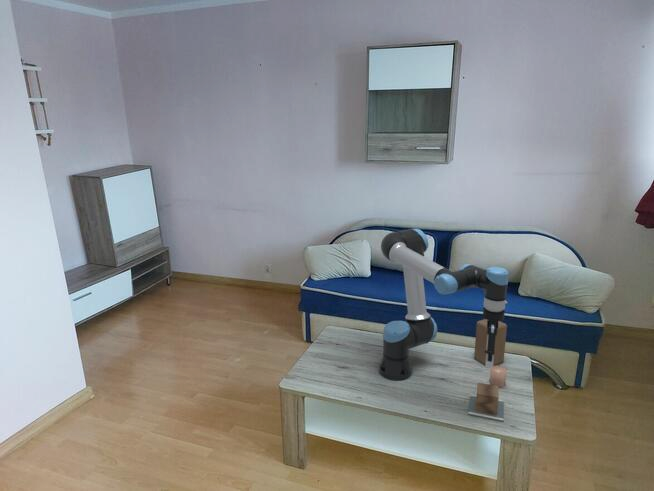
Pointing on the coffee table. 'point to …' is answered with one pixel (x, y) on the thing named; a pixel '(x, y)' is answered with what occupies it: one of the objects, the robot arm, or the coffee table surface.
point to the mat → (484, 415)
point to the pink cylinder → (498, 376)
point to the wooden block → (482, 342)
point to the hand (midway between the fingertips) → (489, 358)
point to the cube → (487, 398)
